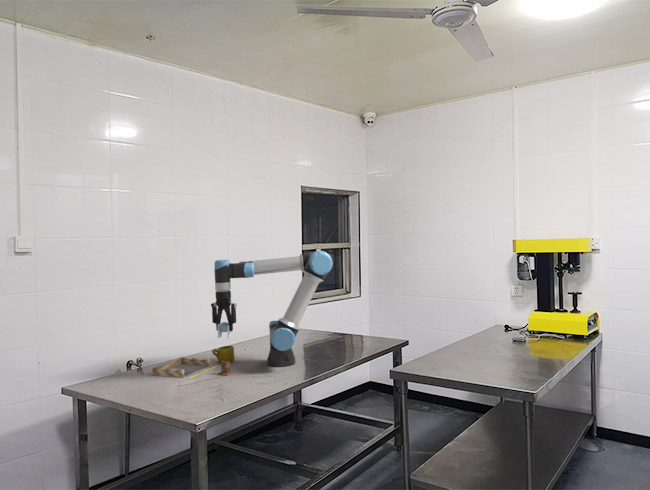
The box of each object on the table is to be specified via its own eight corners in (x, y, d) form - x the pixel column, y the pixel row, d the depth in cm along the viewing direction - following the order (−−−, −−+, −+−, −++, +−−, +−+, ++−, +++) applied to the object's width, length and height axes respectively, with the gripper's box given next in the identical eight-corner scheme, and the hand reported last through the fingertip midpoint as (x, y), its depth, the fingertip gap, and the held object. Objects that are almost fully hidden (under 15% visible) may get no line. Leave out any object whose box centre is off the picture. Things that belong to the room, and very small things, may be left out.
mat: (207, 366, 261) (207, 365, 261) (183, 376, 243) (183, 375, 243) (182, 364, 267) (182, 363, 267) (157, 374, 248) (156, 373, 248)
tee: (234, 372, 247) (233, 359, 247) (227, 375, 242) (227, 362, 241) (223, 371, 249) (223, 359, 249) (217, 375, 244) (216, 361, 244)
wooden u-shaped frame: (209, 365, 262) (209, 359, 262) (182, 377, 241) (182, 370, 241) (181, 363, 269) (181, 357, 269) (152, 374, 248) (152, 367, 248)
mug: (241, 356, 273) (234, 340, 271) (231, 366, 264) (224, 350, 262) (224, 358, 279) (217, 343, 277) (214, 368, 270) (206, 352, 268)
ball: (231, 331, 247) (231, 321, 247) (226, 333, 242) (225, 323, 242) (223, 331, 248) (222, 321, 248) (217, 332, 244) (217, 322, 244)
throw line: (217, 366, 261) (217, 365, 261) (190, 378, 239) (190, 378, 239) (216, 366, 261) (216, 365, 261) (188, 378, 239) (188, 378, 239)
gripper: (242, 290, 245) (244, 336, 245) (212, 289, 252) (213, 335, 252) (234, 291, 238) (236, 339, 238) (203, 291, 245) (205, 338, 245)
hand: (224, 337), depth 245 cm, fingers closed on ball, 5 cm apart
